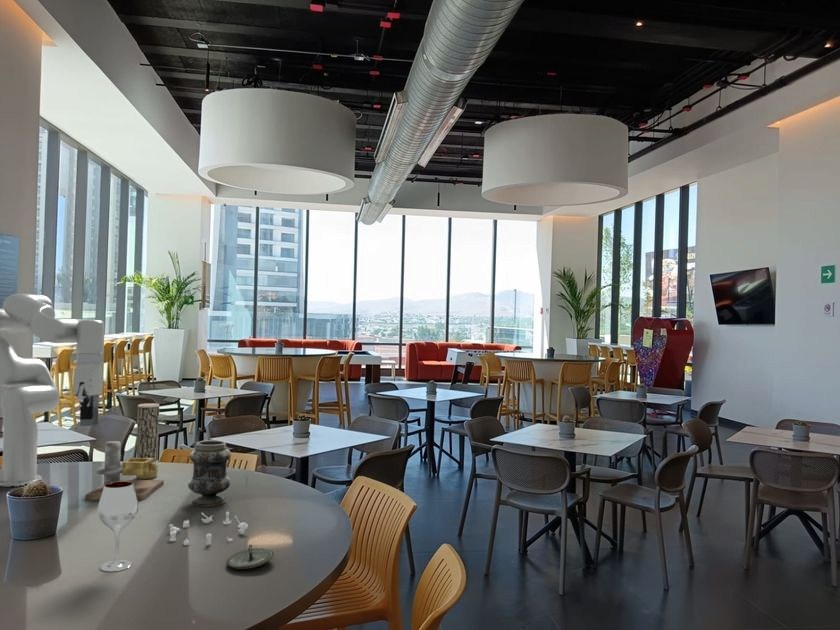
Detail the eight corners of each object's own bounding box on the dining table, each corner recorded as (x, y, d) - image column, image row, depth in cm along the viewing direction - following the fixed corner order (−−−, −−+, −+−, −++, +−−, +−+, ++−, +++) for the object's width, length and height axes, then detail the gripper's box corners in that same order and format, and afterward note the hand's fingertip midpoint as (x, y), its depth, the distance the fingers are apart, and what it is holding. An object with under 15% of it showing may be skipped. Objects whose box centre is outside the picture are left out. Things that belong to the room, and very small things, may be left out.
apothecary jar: (236, 497, 196) (237, 439, 196) (220, 509, 184) (221, 446, 184) (198, 495, 197) (200, 437, 197) (180, 506, 185) (182, 445, 185)
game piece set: (261, 527, 170) (261, 512, 170) (218, 552, 151) (218, 536, 151) (198, 519, 175) (198, 505, 175) (149, 543, 156) (149, 527, 156)
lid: (279, 573, 142) (284, 550, 143) (241, 573, 135) (246, 549, 137) (254, 562, 150) (259, 540, 151) (217, 561, 143) (222, 538, 144)
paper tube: (135, 475, 220) (137, 403, 220) (156, 474, 223) (158, 403, 223) (136, 480, 214) (138, 406, 214) (157, 478, 217) (159, 405, 217)
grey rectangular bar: (80, 425, 196) (80, 390, 196) (84, 424, 199) (85, 389, 199) (93, 425, 196) (93, 390, 196) (97, 424, 199) (98, 389, 199)
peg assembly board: (83, 499, 190) (85, 448, 190) (109, 484, 208) (110, 437, 208) (144, 500, 191) (145, 448, 191) (164, 484, 209) (165, 437, 209)
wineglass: (125, 556, 146) (128, 478, 146) (143, 565, 141) (145, 484, 141) (89, 566, 140) (91, 484, 140) (106, 576, 134) (108, 491, 135)
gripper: (90, 358, 206) (89, 414, 205) (64, 360, 189) (63, 422, 189) (113, 358, 206) (112, 414, 206) (90, 361, 190) (88, 422, 189)
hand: (89, 417), depth 197 cm, fingers closed on grey rectangular bar, 3 cm apart
